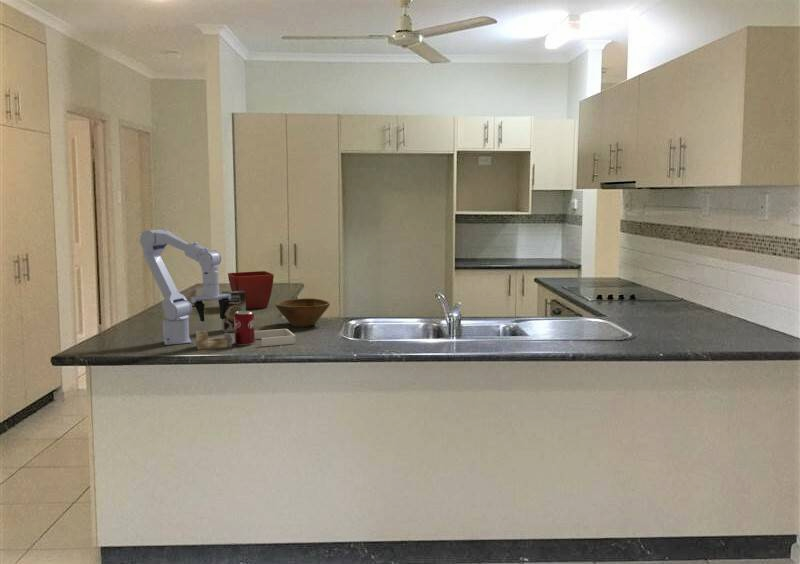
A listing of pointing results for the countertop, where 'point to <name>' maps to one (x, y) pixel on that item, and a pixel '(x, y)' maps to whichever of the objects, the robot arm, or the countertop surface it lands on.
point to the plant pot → (253, 287)
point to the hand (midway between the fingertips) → (212, 319)
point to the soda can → (244, 328)
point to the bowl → (302, 310)
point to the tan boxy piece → (212, 341)
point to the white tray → (275, 337)
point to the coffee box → (233, 309)
